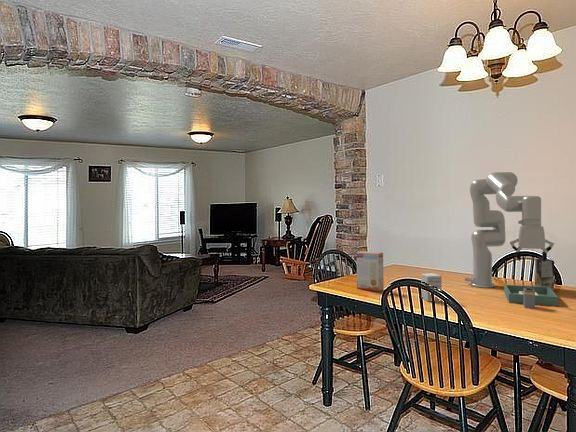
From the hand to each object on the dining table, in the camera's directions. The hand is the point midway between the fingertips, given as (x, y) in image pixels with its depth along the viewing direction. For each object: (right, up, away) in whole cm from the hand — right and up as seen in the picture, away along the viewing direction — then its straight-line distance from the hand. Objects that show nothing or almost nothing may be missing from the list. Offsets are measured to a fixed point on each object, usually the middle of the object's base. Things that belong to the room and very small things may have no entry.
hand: (531, 260), depth 186 cm
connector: (-1, -21, 0) cm, 21 cm away
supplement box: (-40, -21, +16) cm, 48 cm away
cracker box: (-65, -21, +42) cm, 80 cm away
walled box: (+8, -20, +15) cm, 26 cm away
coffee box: (+27, -19, +34) cm, 47 cm away
